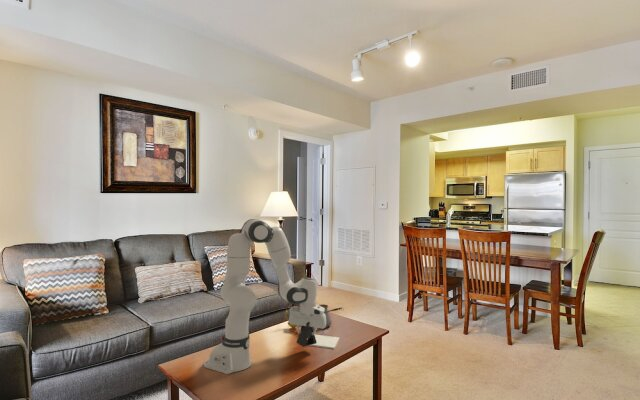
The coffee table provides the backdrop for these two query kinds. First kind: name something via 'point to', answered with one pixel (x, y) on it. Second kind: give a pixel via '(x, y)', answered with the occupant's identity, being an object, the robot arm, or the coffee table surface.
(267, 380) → the coffee table surface
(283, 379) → the coffee table surface
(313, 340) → the phone stand
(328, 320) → the coffee pot
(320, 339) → the mat
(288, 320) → the magic lamp
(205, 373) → the coffee table surface
